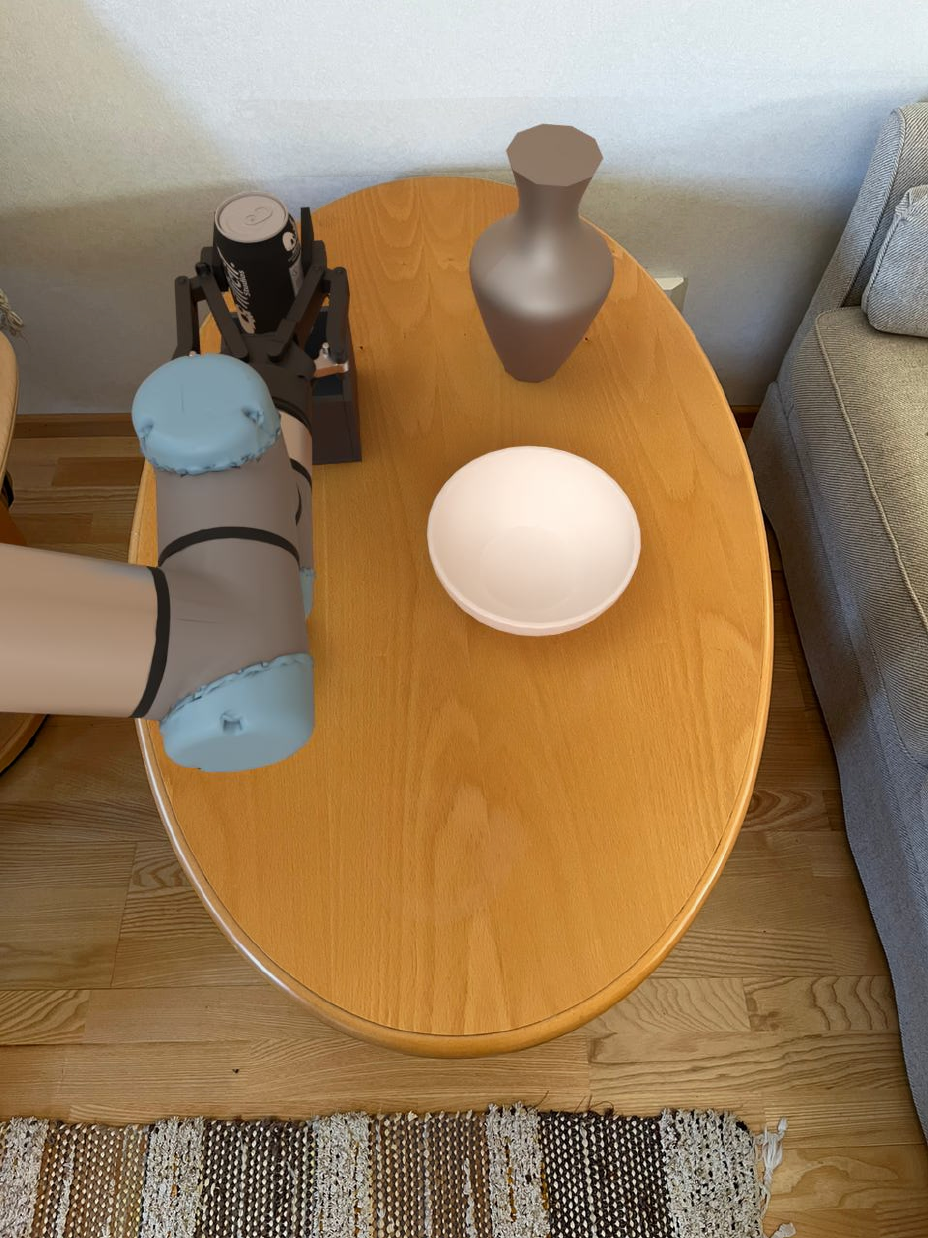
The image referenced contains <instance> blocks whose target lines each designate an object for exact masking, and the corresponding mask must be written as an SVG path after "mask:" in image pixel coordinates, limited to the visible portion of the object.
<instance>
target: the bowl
mask: <svg viewBox="0 0 928 1238" xmlns="http://www.w3.org/2000/svg"><path fill="white" fill-rule="evenodd" d="M641 538H642V537H641V527H640V523H639V519H638V516H637V512H636V510H635V509H634V506H633V504H632V502H631V500H630V498H629V496H628V495H627V494H626V492H625V491H624V490H623V488H622V487H621V486H620V485H619V483H618V482H617V481H616V480H615V479H614V478H613V477H611V476H610V475H609V474H608V473H607V472H606V471H604V469H602V468H601V467H599V466H597V465H596V464H594V463H593V462H591V461H589V460H587V459H586V458H584V457H581V456H579V455H577V454H574V453H571V452H569V451H566V450H561V449H557V448H552V447H550V446H549V447H548V446H534V445H523V446H513V447H511V446H510V447H506V448H502V449H497V450H494V451H490V452H488V453H486V454H483V455H481V456H479V457H476V458H474V459H472V460H471V461H469V462H468V463H466V464H465V465H464V466H462V467H461V468H459V469H458V470H456V471H455V472H454V473H453V474H452V476H451V477H449V479H447V480H446V482H444V484H443V485H442V487H441V489H440V490H439V491H438V493H437V495H436V496H435V498H434V500H433V503H432V506H431V508H430V512H429V514H428V521H427V529H426V539H427V545H428V546H427V547H428V554H429V558H430V561H431V564H432V567H433V570H434V573H435V576H436V577H437V579H438V580H439V582H440V583H441V585H442V587H443V588H444V590H445V592H446V593H447V595H448V597H450V599H451V600H452V601H454V602H455V603H456V605H457V606H458V607H459V608H460V609H461V610H462V611H464V613H466V614H467V615H469V616H471V617H472V618H473V619H475V620H476V621H477V622H479V623H481V624H484V625H486V626H488V627H490V628H493V629H495V630H497V631H500V632H504V633H508V634H512V635H516V636H525V637H526V636H528V637H544V636H553V635H560V634H563V633H568V632H571V631H573V630H578V629H579V628H581V627H583V626H586V625H587V624H589V623H590V622H593V621H594V620H596V619H597V618H598V617H600V616H601V615H602V614H603V613H604V612H606V611H607V610H608V609H609V608H611V607H612V606H613V605H614V604H615V603H616V602H617V601H618V599H619V598H620V597H621V596H622V594H623V593H624V592H625V590H626V589H627V588H628V587H629V586H628V585H629V584H630V582H631V580H632V578H633V575H634V573H635V572H636V569H637V567H638V564H639V563H638V562H639V558H640V553H641V549H642V544H641V543H642V542H641Z"/></svg>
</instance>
